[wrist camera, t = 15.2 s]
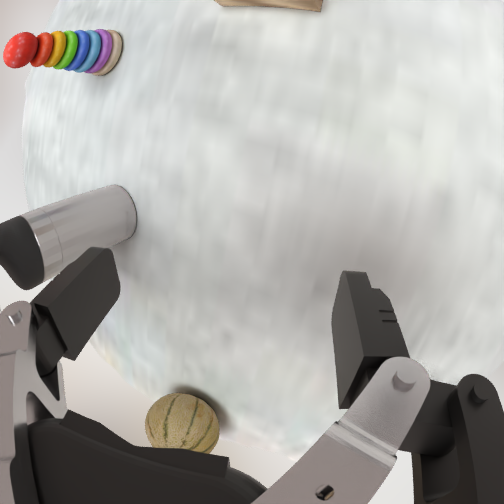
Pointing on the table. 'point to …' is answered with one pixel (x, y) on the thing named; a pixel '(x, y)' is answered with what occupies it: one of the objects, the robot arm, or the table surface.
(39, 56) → the stacking toy
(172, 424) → the cantaloupe
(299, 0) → the brick pedestal
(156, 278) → the table surface
